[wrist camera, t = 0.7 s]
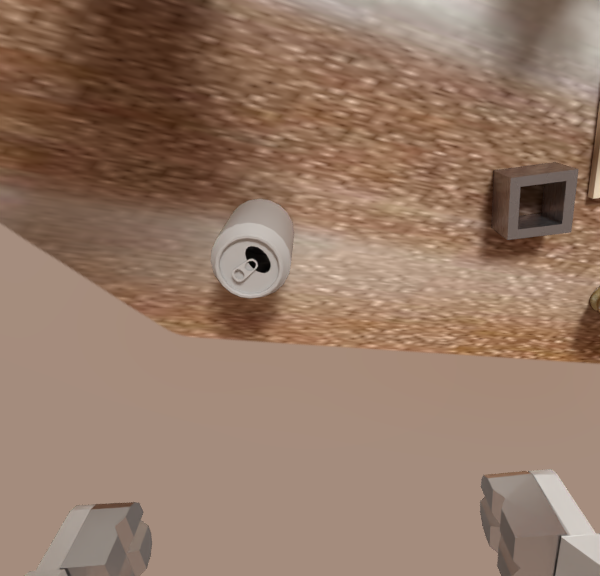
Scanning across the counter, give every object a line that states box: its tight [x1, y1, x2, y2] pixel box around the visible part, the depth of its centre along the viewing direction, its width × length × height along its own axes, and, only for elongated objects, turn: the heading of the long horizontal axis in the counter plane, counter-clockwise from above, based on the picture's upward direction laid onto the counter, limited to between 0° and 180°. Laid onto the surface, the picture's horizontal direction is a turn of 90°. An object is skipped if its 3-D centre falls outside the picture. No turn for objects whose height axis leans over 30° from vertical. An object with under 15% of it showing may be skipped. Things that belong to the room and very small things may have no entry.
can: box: [211, 199, 294, 299], centre depth 45 cm, size 8×8×12 cm
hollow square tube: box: [492, 162, 578, 240], centre depth 47 cm, size 6×6×4 cm
